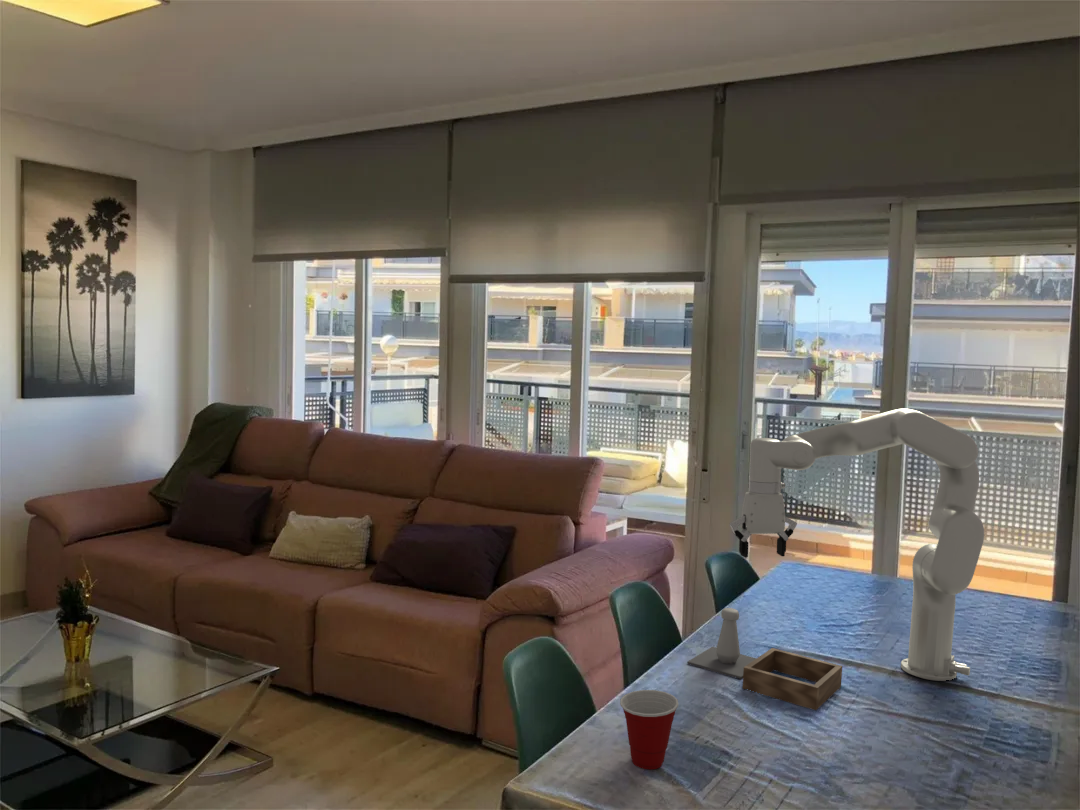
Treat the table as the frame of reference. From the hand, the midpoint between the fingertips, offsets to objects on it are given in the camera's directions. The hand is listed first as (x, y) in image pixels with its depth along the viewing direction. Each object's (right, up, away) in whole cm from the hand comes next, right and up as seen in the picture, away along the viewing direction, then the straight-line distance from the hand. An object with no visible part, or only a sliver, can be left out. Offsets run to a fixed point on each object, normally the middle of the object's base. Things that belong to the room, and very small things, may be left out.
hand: (762, 555), depth 213 cm
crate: (+3, -28, -17) cm, 32 cm away
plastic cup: (-36, -29, -55) cm, 71 cm away
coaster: (-10, -26, -3) cm, 28 cm away
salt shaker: (-9, -26, -3) cm, 28 cm away
